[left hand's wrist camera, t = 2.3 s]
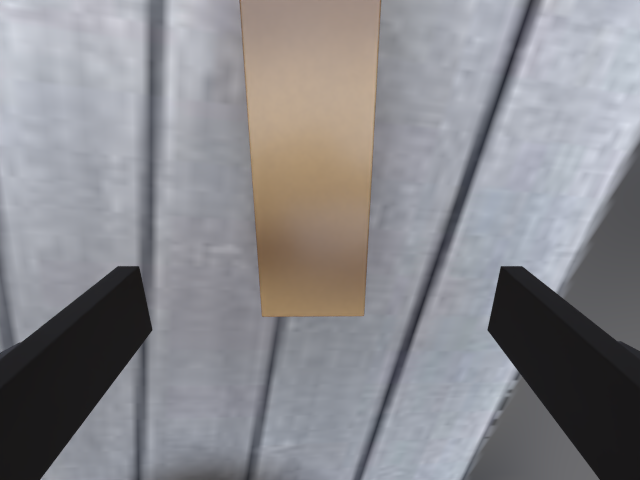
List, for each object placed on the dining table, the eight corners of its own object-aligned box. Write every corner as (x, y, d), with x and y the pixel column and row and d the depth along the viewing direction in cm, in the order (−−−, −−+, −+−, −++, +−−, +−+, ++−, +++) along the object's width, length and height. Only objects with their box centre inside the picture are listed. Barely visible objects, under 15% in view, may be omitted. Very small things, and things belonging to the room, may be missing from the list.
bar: (349, 255, 25) (364, 316, 18) (277, 255, 25) (261, 317, 18) (369, -322, 15) (420, -731, 8) (250, -323, 15) (186, -737, 8)
